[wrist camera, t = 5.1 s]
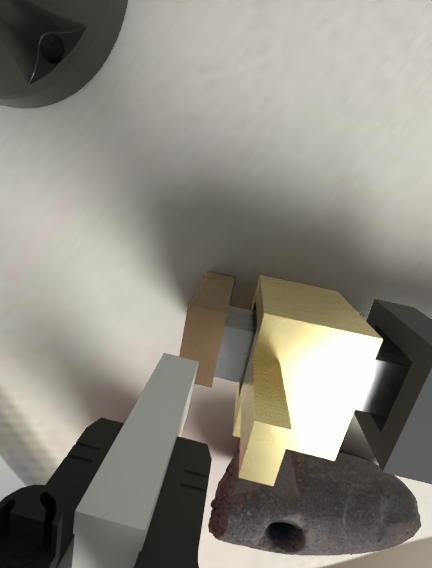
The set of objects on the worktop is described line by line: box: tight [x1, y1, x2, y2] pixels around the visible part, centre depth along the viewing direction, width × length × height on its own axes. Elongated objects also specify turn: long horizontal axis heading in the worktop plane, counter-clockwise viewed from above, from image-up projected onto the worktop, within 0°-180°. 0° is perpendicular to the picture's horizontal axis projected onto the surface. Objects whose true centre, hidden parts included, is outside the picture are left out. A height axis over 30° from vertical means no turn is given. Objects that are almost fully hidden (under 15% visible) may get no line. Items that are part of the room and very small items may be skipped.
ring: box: [354, 299, 432, 484], centre depth 16 cm, size 2×7×7 cm, turn 169°
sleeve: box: [233, 275, 383, 486], centre depth 15 cm, size 5×7×11 cm
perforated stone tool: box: [208, 448, 421, 555], centre depth 22 cm, size 15×5×7 cm, turn 86°
